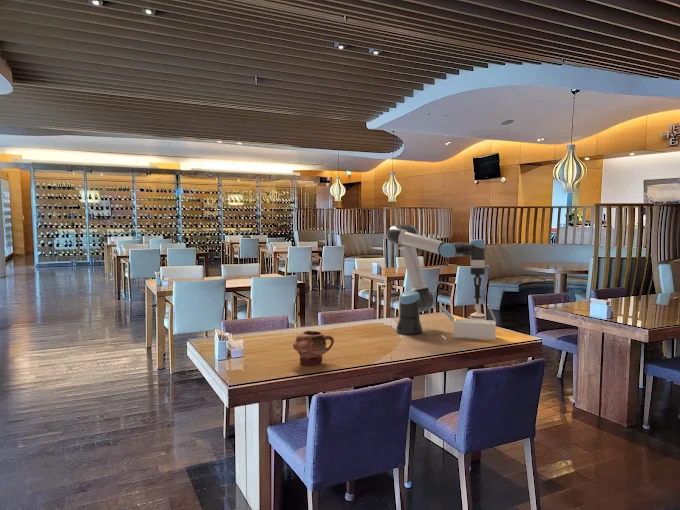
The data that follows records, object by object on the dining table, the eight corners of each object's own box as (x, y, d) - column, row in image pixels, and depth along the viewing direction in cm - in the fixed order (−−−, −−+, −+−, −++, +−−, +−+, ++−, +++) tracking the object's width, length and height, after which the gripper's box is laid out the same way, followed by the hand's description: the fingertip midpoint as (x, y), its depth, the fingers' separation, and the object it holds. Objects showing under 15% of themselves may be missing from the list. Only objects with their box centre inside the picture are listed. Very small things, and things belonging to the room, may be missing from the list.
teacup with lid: (488, 330, 285) (489, 310, 284) (479, 332, 280) (479, 312, 279) (472, 326, 295) (472, 308, 294) (462, 328, 289) (462, 309, 289)
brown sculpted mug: (326, 356, 230) (326, 327, 230) (339, 362, 220) (339, 332, 219) (288, 362, 220) (288, 332, 219) (300, 369, 210) (300, 337, 209)
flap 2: (495, 320, 268) (496, 320, 268) (495, 323, 260) (496, 323, 259) (487, 303, 269) (488, 303, 269) (487, 306, 260) (488, 305, 260)
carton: (453, 337, 267) (454, 321, 266) (455, 334, 275) (455, 318, 275) (495, 340, 260) (495, 324, 260) (495, 336, 269) (495, 320, 268)
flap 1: (453, 321, 266) (453, 321, 266) (454, 318, 275) (454, 318, 275) (440, 307, 268) (440, 308, 268) (442, 305, 276) (441, 305, 276)
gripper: (484, 268, 257) (484, 311, 259) (484, 266, 270) (484, 307, 271) (470, 268, 260) (469, 311, 261) (471, 266, 272) (470, 307, 273)
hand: (477, 309), depth 266 cm, fingers closed
